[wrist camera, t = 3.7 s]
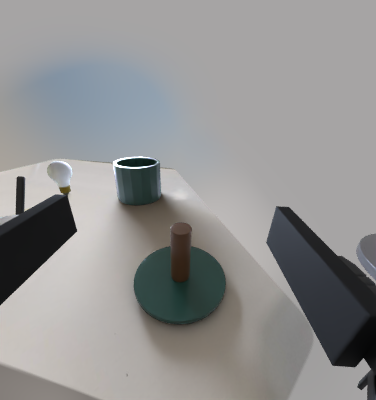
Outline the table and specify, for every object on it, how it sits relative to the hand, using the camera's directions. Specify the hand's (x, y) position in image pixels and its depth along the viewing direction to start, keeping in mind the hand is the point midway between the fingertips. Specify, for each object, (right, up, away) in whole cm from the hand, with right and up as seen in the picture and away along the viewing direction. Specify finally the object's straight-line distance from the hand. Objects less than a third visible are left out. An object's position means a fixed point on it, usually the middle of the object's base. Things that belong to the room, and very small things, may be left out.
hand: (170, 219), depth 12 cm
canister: (-14, +2, +44) cm, 46 cm away
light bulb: (-36, +3, +44) cm, 57 cm away
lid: (0, -11, +16) cm, 19 cm away
